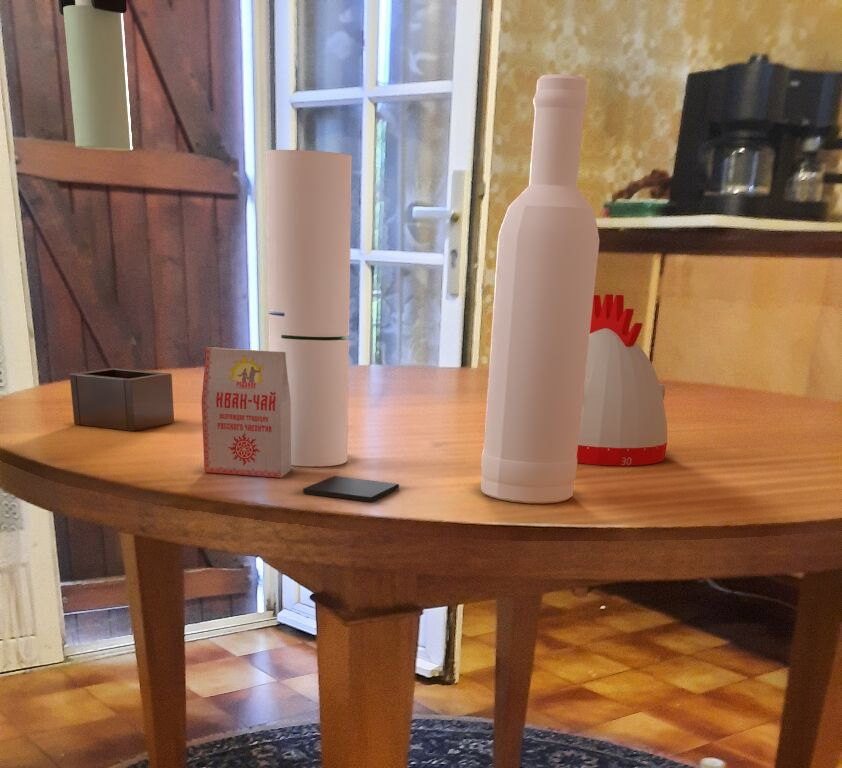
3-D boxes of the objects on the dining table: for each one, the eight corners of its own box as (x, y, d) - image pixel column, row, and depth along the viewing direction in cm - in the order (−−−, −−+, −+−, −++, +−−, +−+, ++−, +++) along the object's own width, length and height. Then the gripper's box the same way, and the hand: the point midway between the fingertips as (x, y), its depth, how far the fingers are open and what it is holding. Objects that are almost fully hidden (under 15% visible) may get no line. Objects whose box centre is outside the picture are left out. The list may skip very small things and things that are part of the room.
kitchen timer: (602, 438, 119) (619, 291, 112) (693, 460, 108) (717, 300, 102) (502, 444, 112) (514, 288, 105) (588, 469, 101) (608, 298, 95)
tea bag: (217, 464, 95) (212, 345, 91) (291, 469, 95) (290, 350, 91) (204, 472, 92) (199, 349, 88) (281, 477, 92) (279, 354, 87)
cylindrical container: (314, 449, 104) (314, 157, 94) (363, 461, 100) (369, 156, 89) (255, 456, 100) (248, 150, 89) (303, 469, 95) (302, 148, 84)
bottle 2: (588, 493, 91) (634, 83, 78) (548, 509, 85) (590, 67, 72) (506, 479, 95) (537, 86, 82) (461, 493, 89) (487, 71, 76)
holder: (73, 424, 111) (69, 373, 109) (116, 415, 117) (112, 367, 115) (134, 431, 109) (131, 380, 107) (174, 422, 115) (171, 373, 113)
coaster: (302, 493, 86) (302, 488, 86) (334, 480, 92) (334, 475, 91) (371, 502, 85) (371, 497, 84) (399, 488, 90) (399, 483, 90)
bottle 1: (64, 146, 101) (44, -64, 94) (97, 149, 105) (81, -50, 98) (111, 147, 99) (94, -66, 92) (143, 151, 104) (129, -52, 96)
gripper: (-12, -234, 93) (11, 16, 100) (84, -290, 82) (101, -5, 89) (69, -207, 97) (85, 30, 105) (169, -256, 87) (179, 12, 94)
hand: (92, 11), depth 97 cm, fingers closed on bottle 1, 5 cm apart
